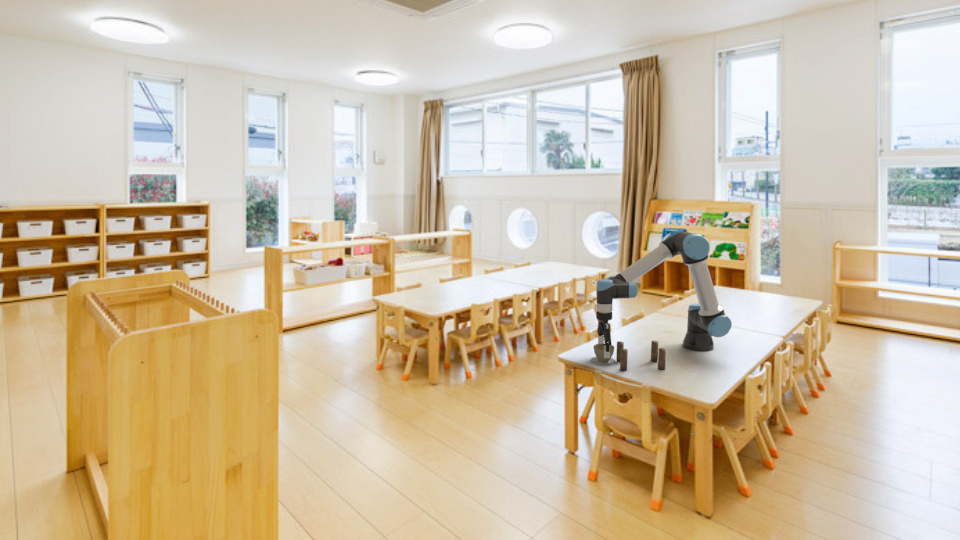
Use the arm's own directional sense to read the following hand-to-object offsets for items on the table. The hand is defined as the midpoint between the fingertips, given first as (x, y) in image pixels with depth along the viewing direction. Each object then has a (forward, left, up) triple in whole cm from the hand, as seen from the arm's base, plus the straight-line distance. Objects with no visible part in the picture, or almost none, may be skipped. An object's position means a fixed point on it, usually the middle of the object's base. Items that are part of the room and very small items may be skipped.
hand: (603, 353), depth 257 cm
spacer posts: (-16, +6, -4) cm, 17 cm away
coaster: (0, 0, -4) cm, 4 cm away
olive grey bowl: (0, 0, -4) cm, 4 cm away
